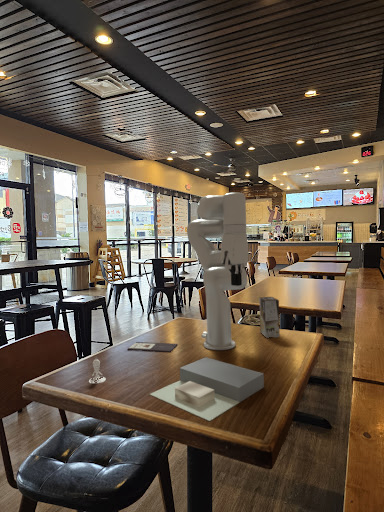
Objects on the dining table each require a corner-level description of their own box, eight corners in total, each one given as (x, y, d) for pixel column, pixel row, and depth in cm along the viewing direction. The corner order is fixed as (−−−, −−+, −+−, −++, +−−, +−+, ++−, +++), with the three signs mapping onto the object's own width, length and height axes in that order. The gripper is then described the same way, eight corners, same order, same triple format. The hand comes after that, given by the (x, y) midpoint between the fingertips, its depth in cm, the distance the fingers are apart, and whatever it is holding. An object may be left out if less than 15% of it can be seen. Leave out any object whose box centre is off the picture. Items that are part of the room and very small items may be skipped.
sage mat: (149, 394, 96) (149, 393, 96) (180, 380, 105) (180, 380, 105) (209, 421, 81) (209, 420, 81) (239, 402, 90) (239, 401, 90)
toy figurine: (108, 376, 110) (107, 354, 110) (99, 387, 102) (98, 363, 102) (92, 376, 111) (91, 354, 110) (82, 387, 103) (80, 363, 102)
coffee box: (280, 337, 146) (279, 300, 145) (265, 338, 146) (264, 300, 145) (273, 331, 155) (272, 296, 155) (259, 332, 155) (258, 297, 154)
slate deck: (180, 380, 105) (179, 367, 105) (206, 369, 114) (205, 357, 114) (239, 402, 90) (238, 387, 90) (263, 387, 99) (263, 373, 98)
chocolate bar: (171, 351, 132) (127, 348, 136) (171, 353, 132) (127, 351, 136) (177, 343, 141) (136, 342, 145) (177, 346, 141) (136, 344, 145)
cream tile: (190, 380, 98) (190, 389, 98) (174, 388, 94) (175, 397, 94) (214, 389, 92) (214, 398, 92) (199, 397, 88) (199, 407, 88)
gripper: (238, 230, 123) (240, 282, 124) (211, 231, 112) (213, 287, 113) (256, 229, 117) (258, 283, 118) (230, 230, 107) (232, 289, 108)
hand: (236, 285), depth 116 cm, fingers closed
